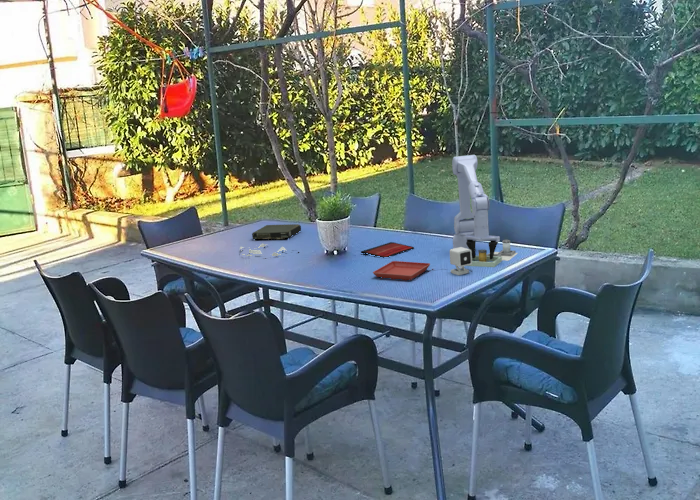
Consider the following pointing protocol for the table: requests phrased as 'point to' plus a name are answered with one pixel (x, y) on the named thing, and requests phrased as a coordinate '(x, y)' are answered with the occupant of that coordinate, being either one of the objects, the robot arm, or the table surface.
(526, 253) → the table surface
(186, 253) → the table surface
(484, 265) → the parts tray
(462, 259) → the security camera
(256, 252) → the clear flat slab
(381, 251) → the binder
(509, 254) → the fuse block
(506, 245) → the grey fuse
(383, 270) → the plant saucer
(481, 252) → the amber fuse
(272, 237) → the network switch
